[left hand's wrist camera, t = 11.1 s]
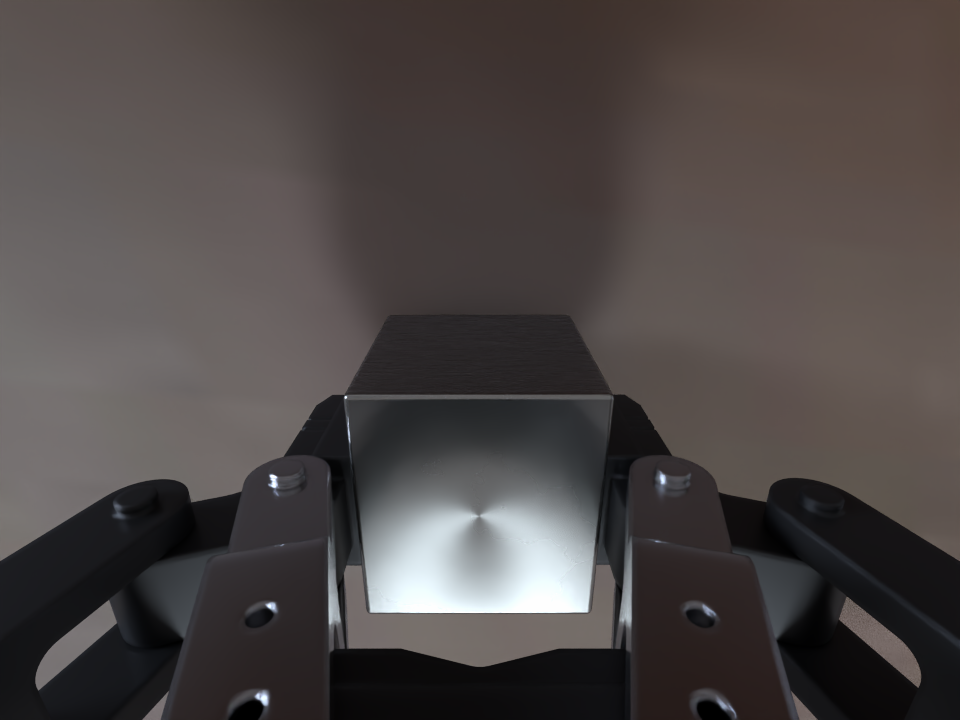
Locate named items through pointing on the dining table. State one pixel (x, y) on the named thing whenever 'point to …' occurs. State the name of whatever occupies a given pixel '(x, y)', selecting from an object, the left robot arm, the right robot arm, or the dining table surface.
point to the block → (478, 465)
